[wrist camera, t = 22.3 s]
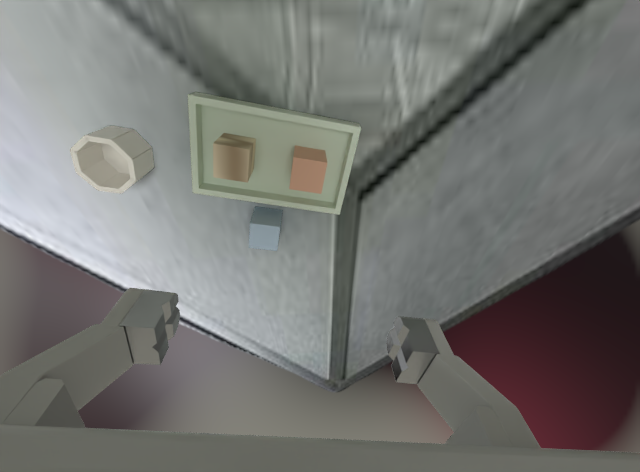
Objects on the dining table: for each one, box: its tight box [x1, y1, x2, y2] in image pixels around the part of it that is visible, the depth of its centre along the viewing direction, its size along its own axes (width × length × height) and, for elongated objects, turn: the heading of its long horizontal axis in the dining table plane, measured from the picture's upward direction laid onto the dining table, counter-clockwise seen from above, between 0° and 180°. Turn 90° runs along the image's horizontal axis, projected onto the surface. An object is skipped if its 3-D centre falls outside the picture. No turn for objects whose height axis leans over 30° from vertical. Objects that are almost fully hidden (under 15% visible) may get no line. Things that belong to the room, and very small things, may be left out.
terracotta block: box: [289, 145, 327, 194], centre depth 37 cm, size 4×4×5 cm
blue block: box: [249, 206, 283, 251], centre depth 42 cm, size 4×4×5 cm
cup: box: [70, 126, 154, 194], centre depth 36 cm, size 7×7×5 cm
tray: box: [188, 92, 361, 215], centre depth 38 cm, size 20×12×3 cm, turn 79°
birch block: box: [213, 133, 256, 183], centre depth 36 cm, size 4×4×5 cm
